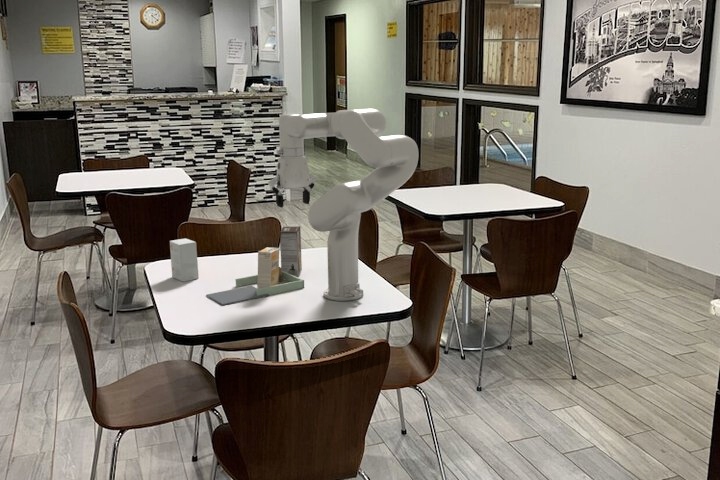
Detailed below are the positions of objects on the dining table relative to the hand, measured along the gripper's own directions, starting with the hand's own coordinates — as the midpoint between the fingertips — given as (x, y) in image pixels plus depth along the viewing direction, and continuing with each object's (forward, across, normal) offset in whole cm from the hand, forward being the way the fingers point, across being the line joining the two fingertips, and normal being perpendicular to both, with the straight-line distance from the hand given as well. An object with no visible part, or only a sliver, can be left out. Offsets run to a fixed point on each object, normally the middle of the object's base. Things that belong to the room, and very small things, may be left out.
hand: (293, 205), depth 234 cm
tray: (+27, -9, +1) cm, 28 cm away
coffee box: (+27, +4, +11) cm, 29 cm away
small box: (+27, -28, +28) cm, 48 cm away
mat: (+27, -22, -2) cm, 35 cm away
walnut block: (+27, -5, +6) cm, 28 cm away
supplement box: (+26, -11, -2) cm, 29 cm away
